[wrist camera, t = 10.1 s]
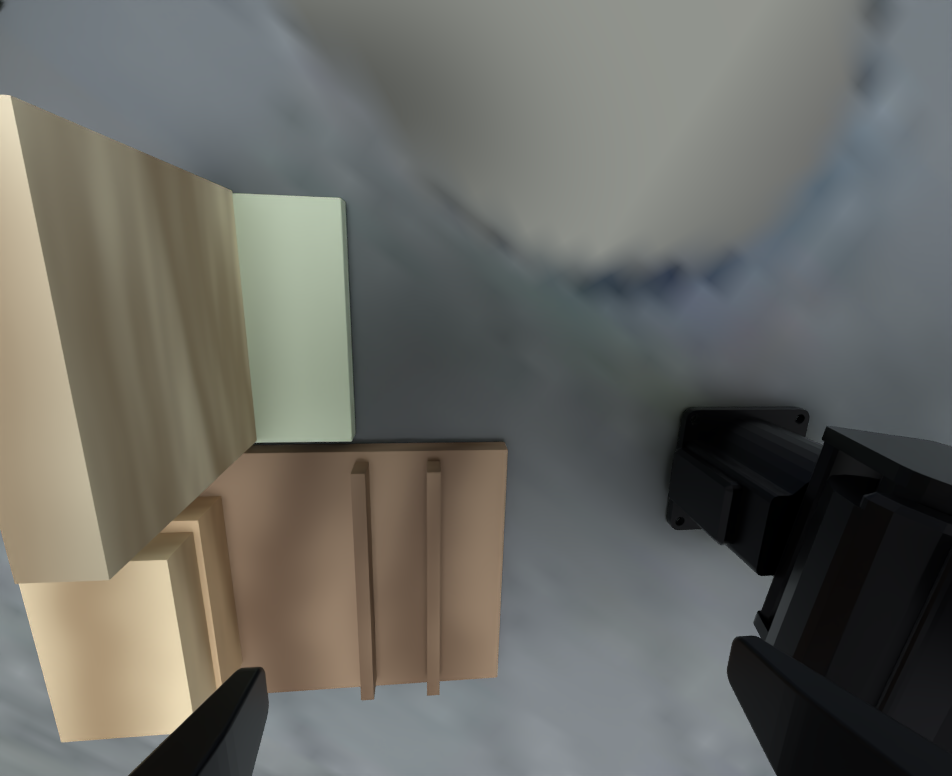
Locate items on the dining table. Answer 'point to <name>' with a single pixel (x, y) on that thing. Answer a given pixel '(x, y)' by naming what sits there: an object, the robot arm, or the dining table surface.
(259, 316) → the sage pad
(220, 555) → the oak offcut
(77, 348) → the birch board
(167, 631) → the pine offcut
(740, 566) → the dining table surface
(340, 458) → the walnut stand
